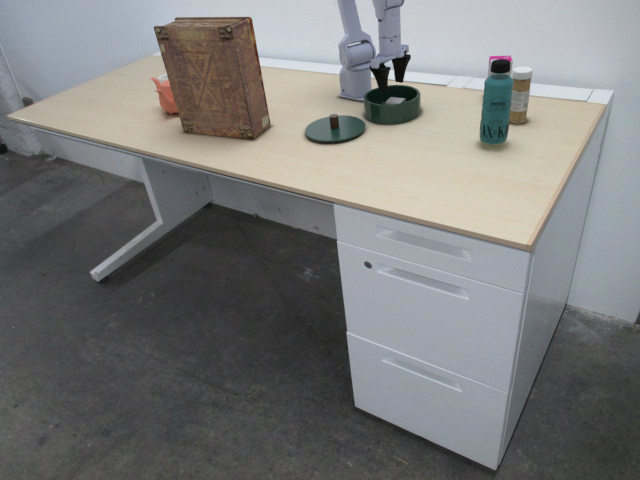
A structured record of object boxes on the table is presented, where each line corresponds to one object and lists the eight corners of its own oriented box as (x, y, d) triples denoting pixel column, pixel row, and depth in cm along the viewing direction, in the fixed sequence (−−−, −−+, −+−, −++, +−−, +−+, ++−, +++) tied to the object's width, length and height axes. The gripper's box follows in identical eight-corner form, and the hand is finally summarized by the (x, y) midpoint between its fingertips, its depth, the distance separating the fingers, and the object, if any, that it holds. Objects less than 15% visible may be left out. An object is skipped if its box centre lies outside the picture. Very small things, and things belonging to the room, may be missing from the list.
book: (183, 132, 152) (152, 26, 135) (201, 119, 159) (174, 17, 141) (254, 140, 141) (231, 26, 124) (271, 126, 148) (251, 16, 130)
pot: (399, 128, 137) (398, 109, 133) (354, 118, 146) (352, 99, 143) (430, 108, 145) (430, 89, 142) (386, 99, 154) (385, 81, 151)
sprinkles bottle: (517, 115, 135) (523, 64, 127) (530, 121, 131) (537, 68, 123) (503, 120, 133) (508, 68, 125) (516, 126, 130) (522, 73, 122)
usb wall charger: (400, 116, 142) (400, 102, 139) (377, 114, 145) (377, 100, 143) (406, 111, 144) (406, 97, 142) (383, 108, 148) (383, 95, 145)
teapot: (208, 111, 163) (200, 77, 157) (164, 122, 160) (153, 88, 154) (201, 97, 175) (192, 65, 168) (159, 108, 172) (149, 75, 165)
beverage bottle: (474, 140, 126) (480, 58, 114) (501, 137, 126) (509, 54, 114) (484, 152, 120) (490, 67, 109) (512, 148, 120) (521, 63, 109)
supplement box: (508, 102, 142) (513, 61, 135) (486, 103, 143) (489, 62, 136) (506, 95, 146) (510, 54, 140) (485, 96, 148) (488, 55, 141)
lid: (338, 149, 131) (337, 133, 128) (293, 136, 140) (290, 121, 138) (377, 125, 140) (376, 109, 137) (332, 115, 149) (330, 100, 147)
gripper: (385, 44, 127) (387, 97, 135) (418, 29, 135) (418, 79, 143) (363, 42, 131) (366, 93, 139) (396, 26, 139) (397, 76, 147)
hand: (391, 86), depth 141 cm, fingers open, 7 cm apart
